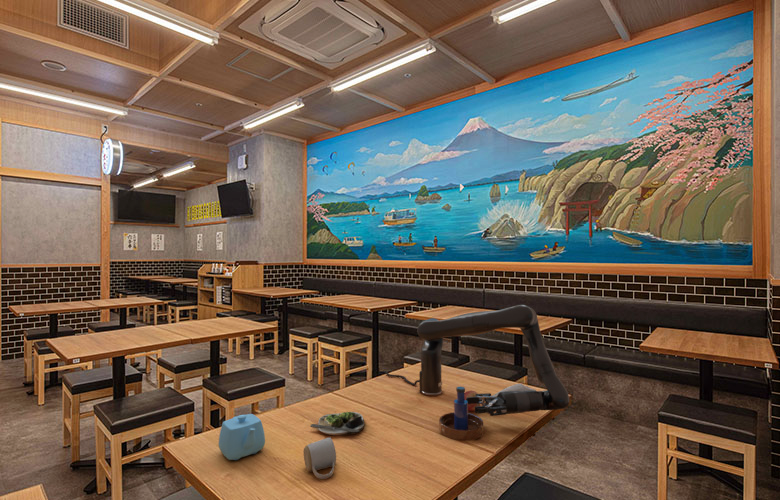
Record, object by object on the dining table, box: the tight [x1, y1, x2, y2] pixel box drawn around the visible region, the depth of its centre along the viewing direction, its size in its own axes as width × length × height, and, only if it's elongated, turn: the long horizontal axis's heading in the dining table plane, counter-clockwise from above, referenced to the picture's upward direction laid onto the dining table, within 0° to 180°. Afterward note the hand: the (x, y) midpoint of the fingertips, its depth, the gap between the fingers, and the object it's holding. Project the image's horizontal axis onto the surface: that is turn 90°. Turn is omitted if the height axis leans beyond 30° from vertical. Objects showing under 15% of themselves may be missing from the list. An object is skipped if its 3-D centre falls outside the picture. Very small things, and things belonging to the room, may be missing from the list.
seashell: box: [491, 383, 537, 397], centre depth 160 cm, size 9×11×15 cm
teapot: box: [218, 413, 266, 461], centre depth 120 cm, size 12×18×12 cm
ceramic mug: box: [303, 436, 337, 480], centre depth 110 cm, size 11×8×8 cm
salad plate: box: [309, 411, 365, 436], centre depth 138 cm, size 19×18×5 cm
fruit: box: [464, 390, 481, 413], centre depth 151 cm, size 8×8×8 cm
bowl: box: [438, 411, 485, 442], centre depth 133 cm, size 15×15×4 cm
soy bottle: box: [453, 386, 469, 430], centre depth 133 cm, size 5×5×15 cm
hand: (470, 405), depth 134 cm, fingers open, 8 cm apart
